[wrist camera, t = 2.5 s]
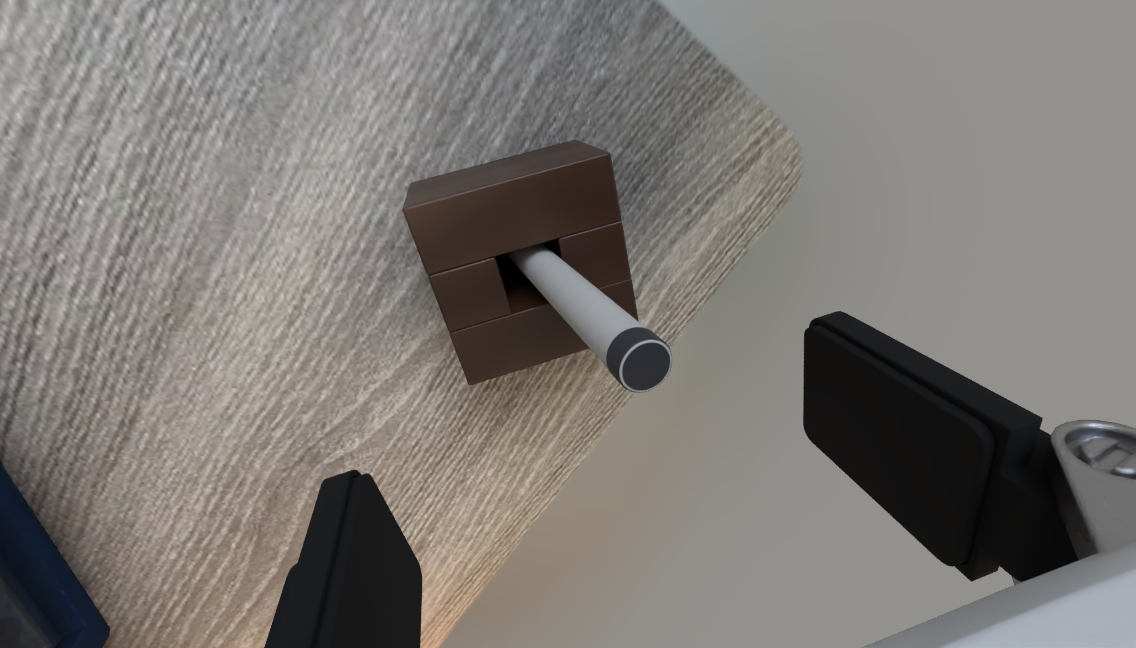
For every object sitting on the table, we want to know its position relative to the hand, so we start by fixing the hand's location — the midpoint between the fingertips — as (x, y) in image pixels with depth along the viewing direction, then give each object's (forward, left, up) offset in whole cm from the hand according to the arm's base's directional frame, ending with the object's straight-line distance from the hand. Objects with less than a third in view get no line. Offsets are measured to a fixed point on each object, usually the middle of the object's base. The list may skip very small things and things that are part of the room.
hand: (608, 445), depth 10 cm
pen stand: (0, 0, -15) cm, 15 cm away
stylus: (0, 0, -15) cm, 15 cm away
